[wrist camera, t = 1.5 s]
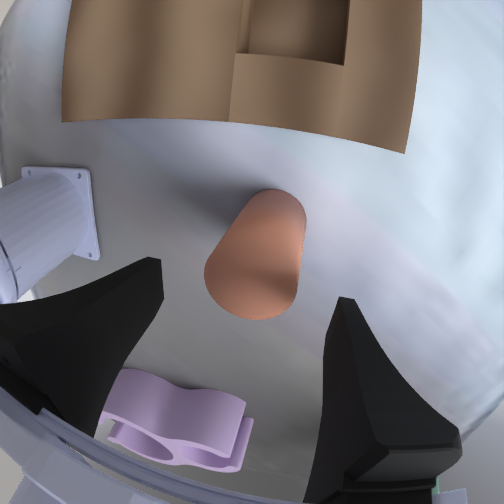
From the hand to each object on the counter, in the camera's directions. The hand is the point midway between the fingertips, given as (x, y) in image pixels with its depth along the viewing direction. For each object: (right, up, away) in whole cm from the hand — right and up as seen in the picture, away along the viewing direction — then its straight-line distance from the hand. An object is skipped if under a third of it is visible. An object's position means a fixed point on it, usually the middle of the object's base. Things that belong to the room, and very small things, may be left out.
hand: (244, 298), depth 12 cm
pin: (+2, +4, +7) cm, 8 cm away
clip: (-9, -17, +21) cm, 29 cm away
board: (-1, +15, +2) cm, 15 cm away
